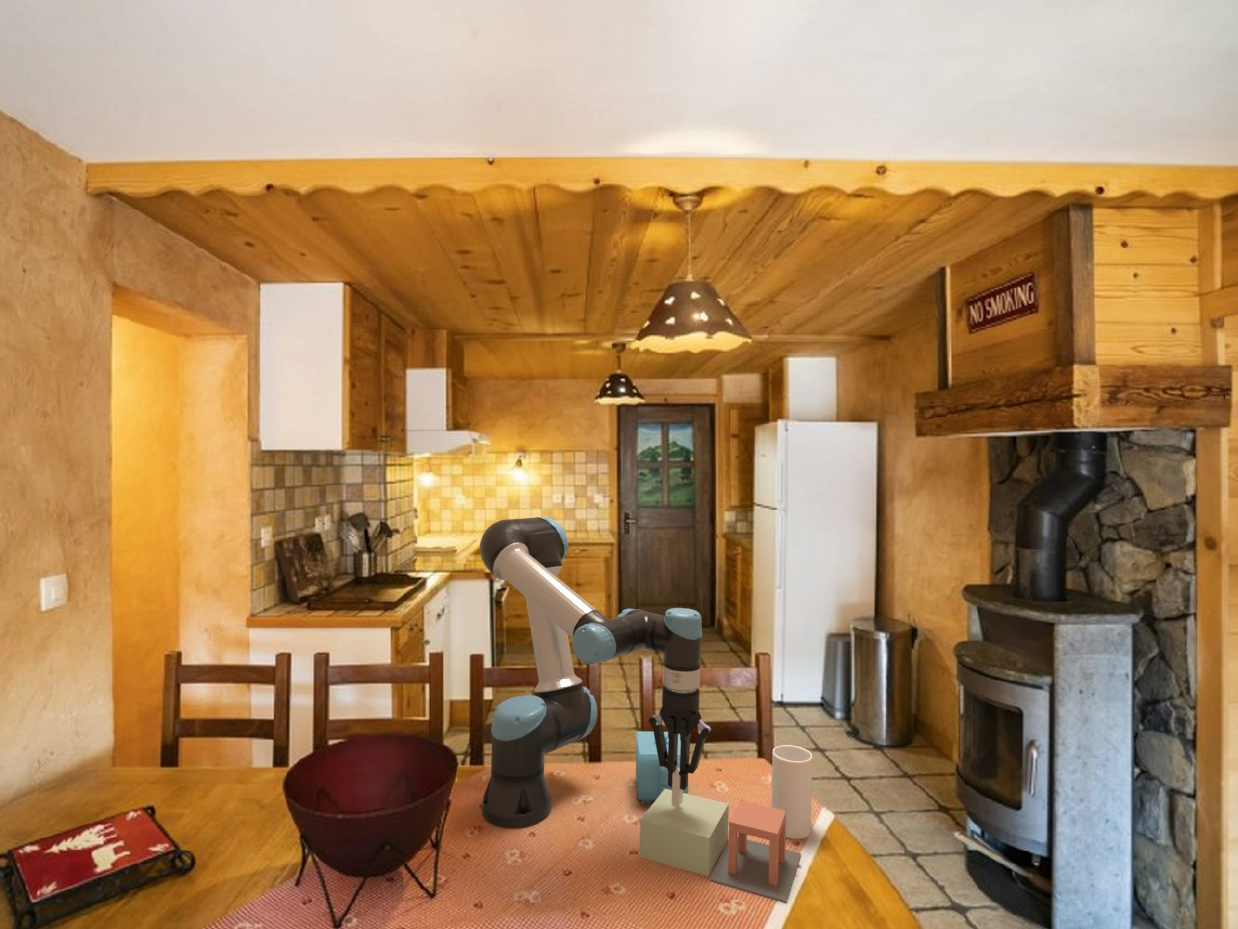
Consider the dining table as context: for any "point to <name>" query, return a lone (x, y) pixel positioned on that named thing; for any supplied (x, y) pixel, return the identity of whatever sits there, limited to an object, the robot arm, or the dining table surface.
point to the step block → (684, 832)
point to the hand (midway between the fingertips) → (677, 803)
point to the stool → (757, 834)
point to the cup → (793, 788)
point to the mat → (757, 872)
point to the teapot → (651, 767)
